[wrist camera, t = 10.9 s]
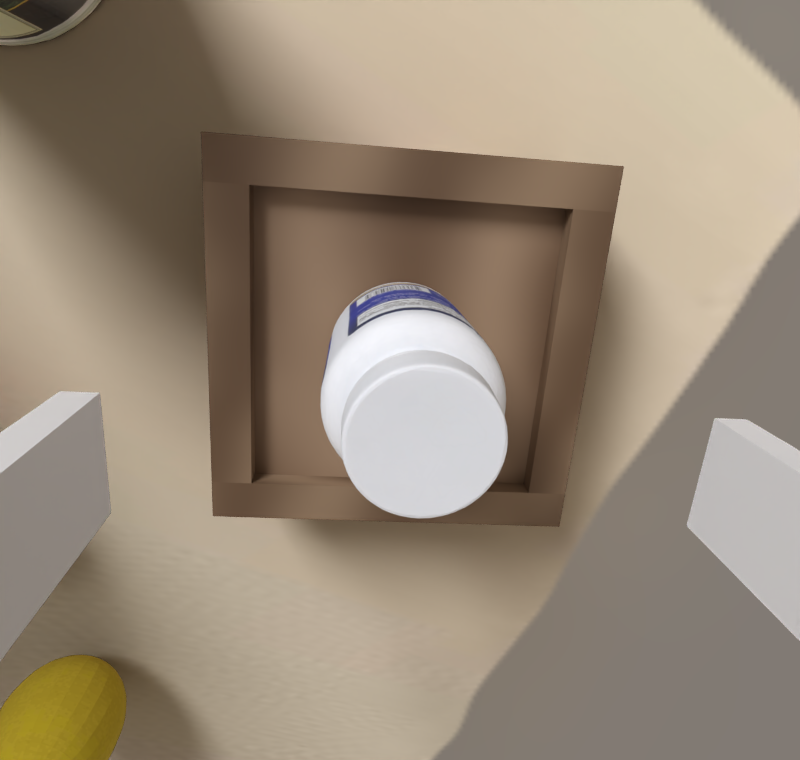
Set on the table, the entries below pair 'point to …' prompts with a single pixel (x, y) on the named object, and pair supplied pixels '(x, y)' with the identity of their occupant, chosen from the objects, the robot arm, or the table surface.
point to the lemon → (64, 712)
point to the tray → (380, 264)
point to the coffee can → (40, 19)
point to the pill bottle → (413, 402)
